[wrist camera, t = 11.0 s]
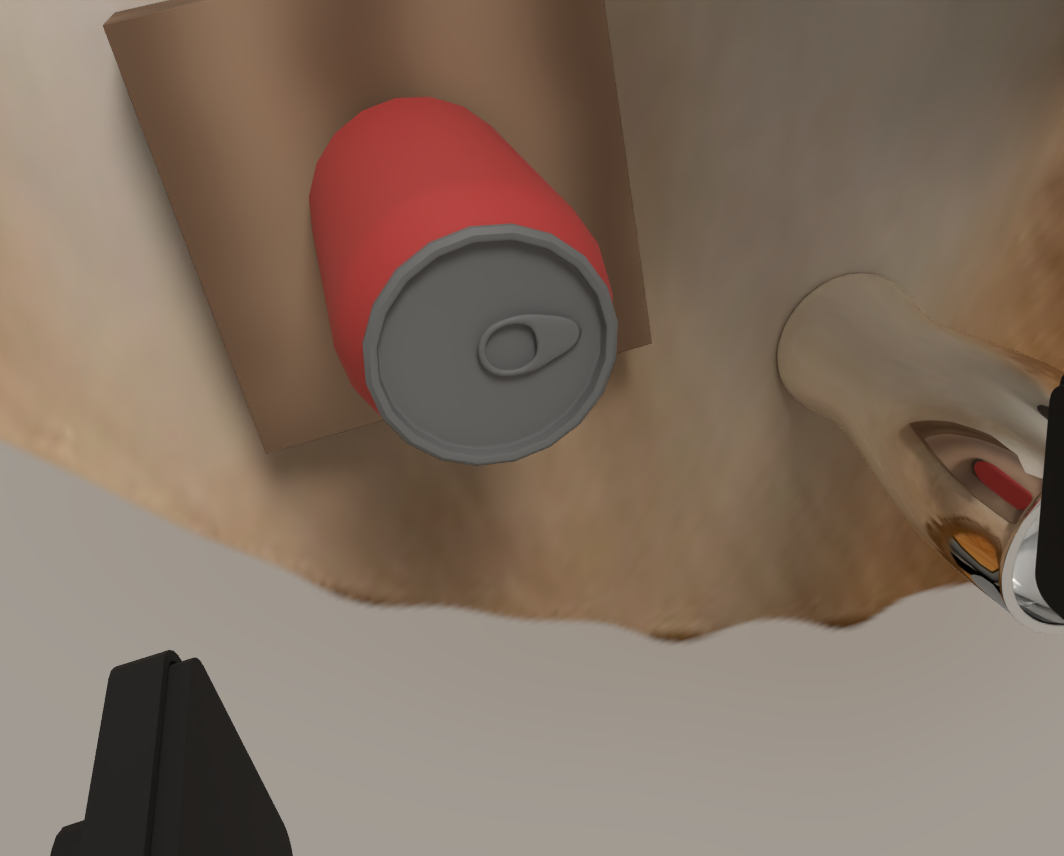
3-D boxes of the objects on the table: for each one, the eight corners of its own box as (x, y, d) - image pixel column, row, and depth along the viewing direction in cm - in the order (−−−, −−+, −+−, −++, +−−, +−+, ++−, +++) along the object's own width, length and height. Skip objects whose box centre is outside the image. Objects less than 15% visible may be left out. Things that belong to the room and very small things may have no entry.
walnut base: (564, -91, 32) (591, -88, 29) (625, 312, 39) (651, 343, 36) (115, 12, 30) (102, 25, 28) (264, 414, 37) (265, 453, 35)
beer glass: (744, 314, 40) (976, 518, 27) (899, 229, 40) (1205, 394, 27) (792, 444, 44) (1018, 678, 31) (935, 367, 44) (1221, 569, 31)
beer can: (531, 274, 34) (654, 446, 24) (337, 320, 33) (377, 519, 23) (499, 71, 31) (626, 169, 20) (282, 116, 30) (301, 242, 20)
